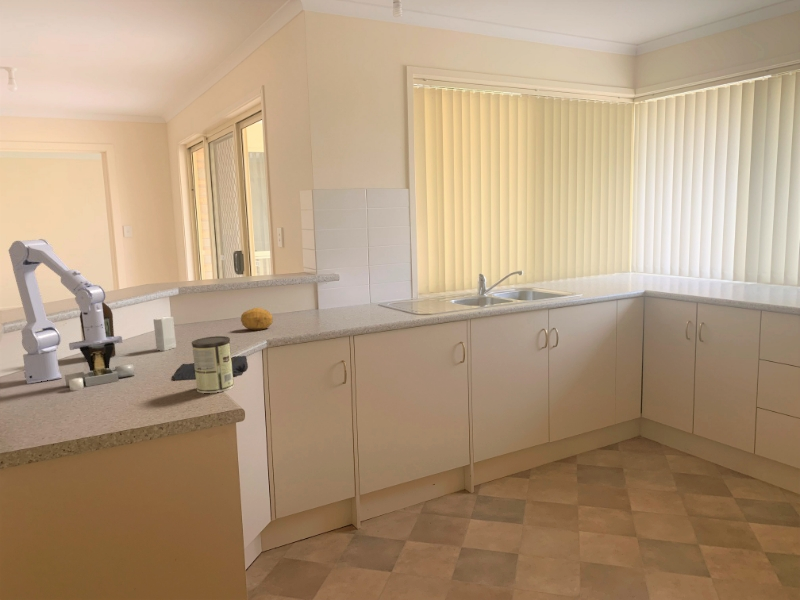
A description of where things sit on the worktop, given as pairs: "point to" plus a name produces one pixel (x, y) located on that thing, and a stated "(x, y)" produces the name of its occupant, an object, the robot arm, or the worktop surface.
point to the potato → (256, 319)
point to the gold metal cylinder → (98, 363)
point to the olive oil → (108, 328)
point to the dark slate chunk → (189, 374)
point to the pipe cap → (76, 384)
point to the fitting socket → (101, 379)
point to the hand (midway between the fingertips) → (99, 369)
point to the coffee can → (213, 364)
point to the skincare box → (164, 333)
